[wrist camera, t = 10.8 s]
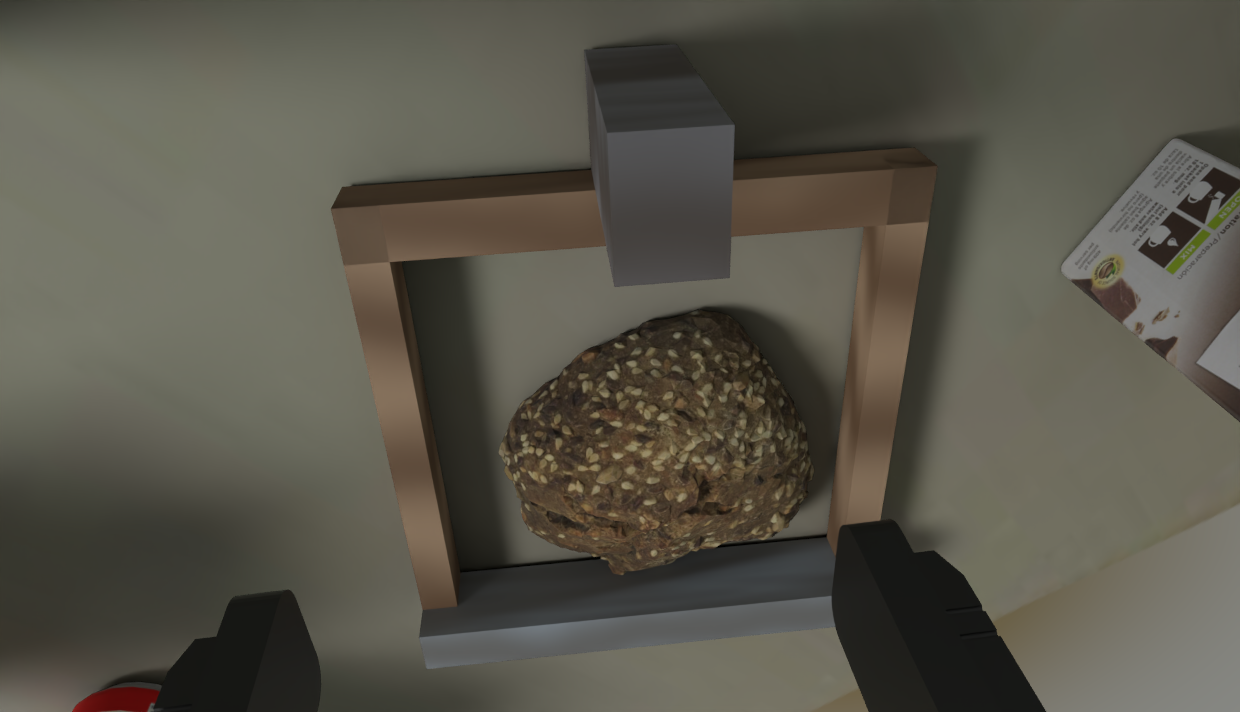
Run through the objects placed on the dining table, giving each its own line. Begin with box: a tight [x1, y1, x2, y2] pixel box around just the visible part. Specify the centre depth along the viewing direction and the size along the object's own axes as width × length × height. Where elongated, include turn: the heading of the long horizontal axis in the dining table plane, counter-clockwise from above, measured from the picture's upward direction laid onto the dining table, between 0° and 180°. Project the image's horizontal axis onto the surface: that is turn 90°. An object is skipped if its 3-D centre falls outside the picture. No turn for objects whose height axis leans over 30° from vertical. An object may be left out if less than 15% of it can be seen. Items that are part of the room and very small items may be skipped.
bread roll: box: [499, 310, 814, 575], centre depth 35 cm, size 13×12×5 cm
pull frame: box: [331, 44, 938, 669], centre depth 30 cm, size 24×20×9 cm
